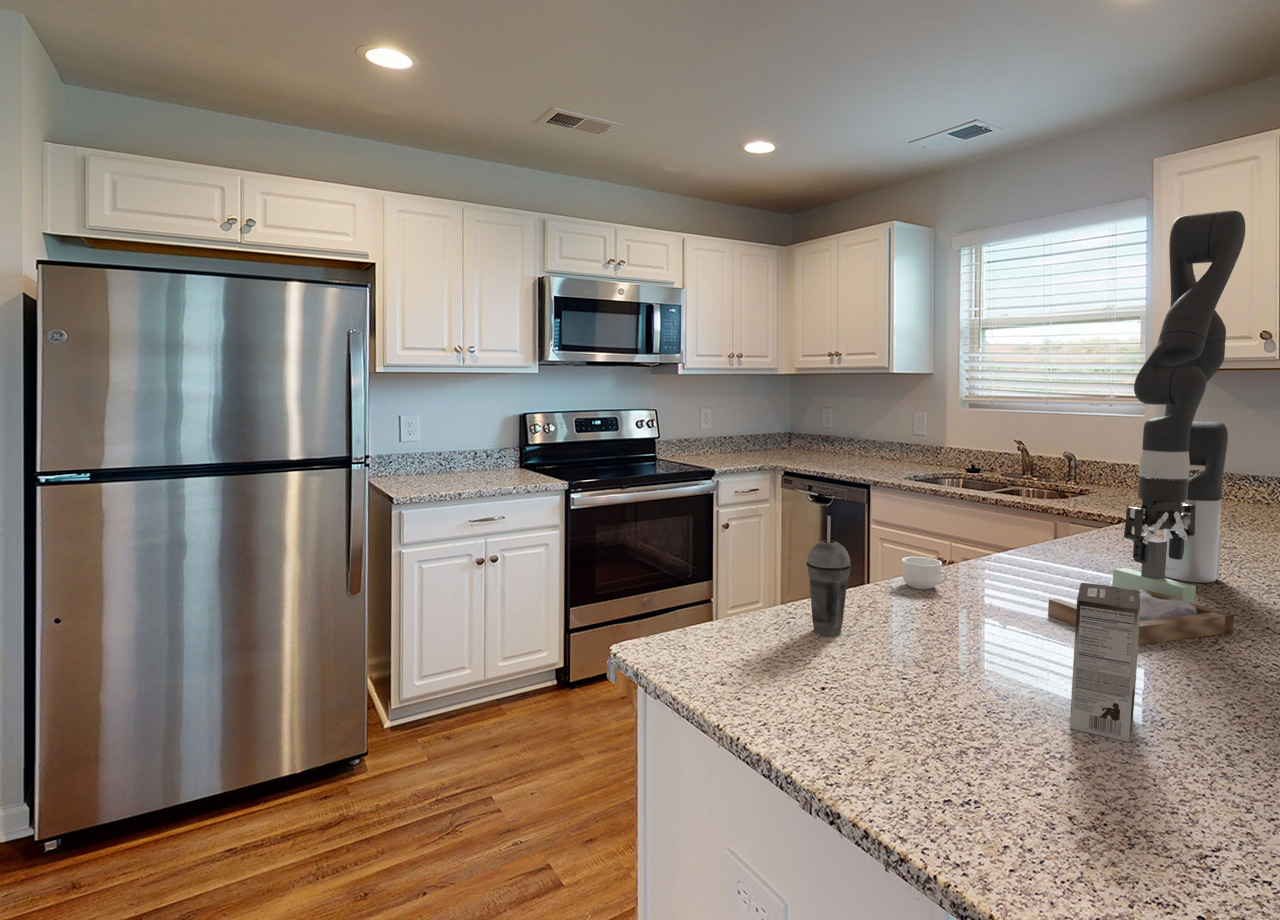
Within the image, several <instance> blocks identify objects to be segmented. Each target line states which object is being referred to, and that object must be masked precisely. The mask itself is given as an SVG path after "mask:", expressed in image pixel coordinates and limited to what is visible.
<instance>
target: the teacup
mask: <svg viewBox="0 0 1280 920" xmlns="http://www.w3.org/2000/svg"><path fill="white" fill-rule="evenodd" d="M942 567H943V562H942V561H941V560H939V559H935V558H932V557H927V556H906V557H903V558H902V559H901V572H902V579H903V580H904V583H906V585H907V586H909V587H910V588H912V589H916V590H931V589H933V588H935V587H937V585H941V584H944V583H947V581H948V580H947V579H948V575H947V572H946V571H944V570H942V569H943V568H942ZM942 574H943V580H941V577H942Z"/></svg>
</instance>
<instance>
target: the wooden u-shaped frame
mask: <svg viewBox="0 0 1280 920" xmlns="http://www.w3.org/2000/svg"><path fill="white" fill-rule="evenodd" d="M1141 592H1145V593H1148V594H1150V595H1151V596H1152V597H1155V598H1158V599H1166V600H1172V599H1173V600H1179V601H1184V600H1180V599H1176V598H1173V597H1169V596H1166V595H1162V594H1159V593H1155V592H1152V591H1148V590H1145V589H1142V590H1139V593H1141ZM1185 602H1187V601H1185ZM1188 603H1189V604H1190V605H1192V606H1194V607H1195V608H1196V611H1197V613H1198V614H1196V615H1188V616H1179V617H1171V618H1163V619H1155V620H1146V621H1140V622H1139V640H1138V646H1142V645H1148V644H1156V643H1165V642H1172V641H1178V640H1179V641H1180V640H1185V639H1186V640H1187V639H1194V638H1202V637H1208V636H1215V635H1223V634H1231V633H1234V625H1235V623H1234V622H1235V614H1233V613H1229V612H1226V611H1223V610H1222V611H1221V610H1219V609H1215V608H1211V607H1207V606H1204V605H1201V604H1197V603H1195V604H1194V603H1191V602H1188ZM1047 610H1048V611H1047V616H1048V617H1050V618H1053V619H1056V620H1058V621H1061V622H1064V623H1065V624H1069V625H1072V626H1075V627H1076V611H1077V603H1076V604H1075V603H1072V602H1069V601H1067V600H1064V599H1061V598H1050V599H1048V608H1047Z"/></svg>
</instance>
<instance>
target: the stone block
mask: <svg viewBox="0 0 1280 920" xmlns="http://www.w3.org/2000/svg"><path fill="white" fill-rule="evenodd" d="M1196 614H1198V613H1197V611H1196V608H1195V607H1194V606H1192V605H1190V604H1189V603H1188V602H1185V601H1179V600H1173V599H1172V600H1166V599H1158V598H1155V597H1152V596H1151V595H1150V594H1148V593H1145V592H1141V593H1140V621H1146V620H1155V619H1163V618H1171V617H1179V616H1188V615H1196Z"/></svg>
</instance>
